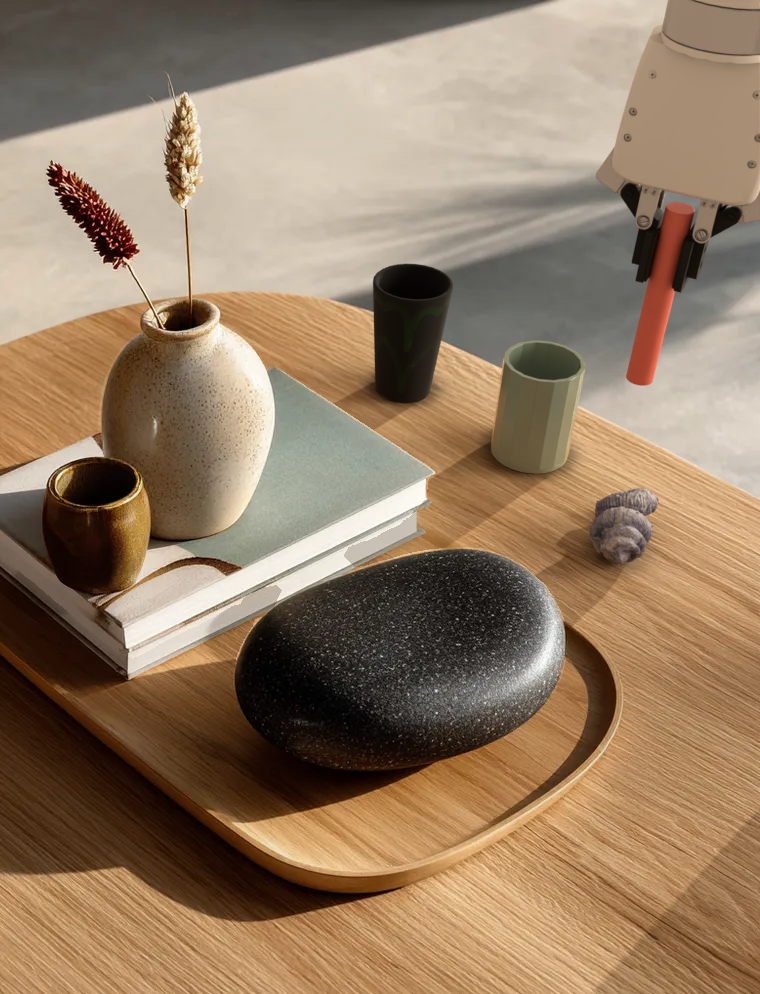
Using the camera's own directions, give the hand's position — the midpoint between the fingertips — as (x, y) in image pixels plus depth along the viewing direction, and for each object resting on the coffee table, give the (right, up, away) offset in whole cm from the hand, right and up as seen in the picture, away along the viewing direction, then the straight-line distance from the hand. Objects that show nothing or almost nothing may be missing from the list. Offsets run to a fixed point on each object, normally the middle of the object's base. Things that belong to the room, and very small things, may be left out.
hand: (663, 277), depth 96 cm
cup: (-15, -5, +39) cm, 42 cm away
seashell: (+2, -20, +19) cm, 28 cm away
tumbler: (-4, -11, +30) cm, 33 cm away
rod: (0, -7, +5) cm, 9 cm away
